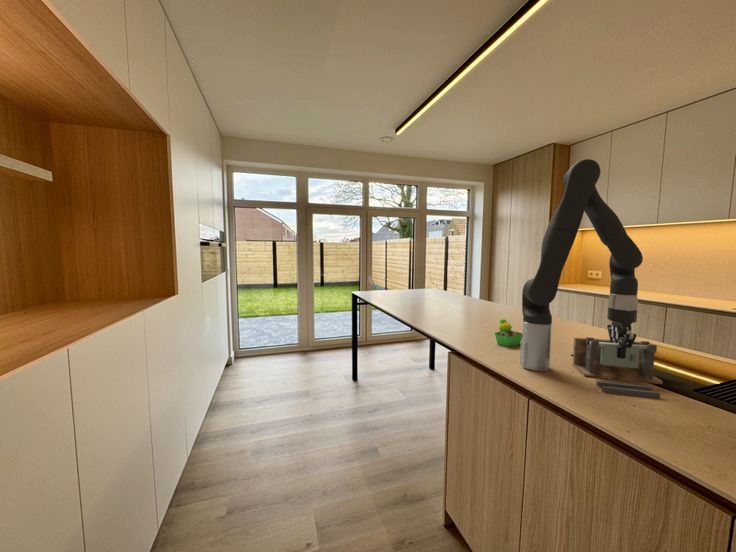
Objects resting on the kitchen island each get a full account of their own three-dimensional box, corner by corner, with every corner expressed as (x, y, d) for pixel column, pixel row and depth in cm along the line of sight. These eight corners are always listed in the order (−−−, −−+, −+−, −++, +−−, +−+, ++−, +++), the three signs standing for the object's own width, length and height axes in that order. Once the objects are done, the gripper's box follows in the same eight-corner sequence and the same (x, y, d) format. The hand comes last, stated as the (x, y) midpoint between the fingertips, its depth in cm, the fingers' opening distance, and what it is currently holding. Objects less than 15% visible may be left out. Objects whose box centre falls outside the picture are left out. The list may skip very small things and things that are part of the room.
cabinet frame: (583, 376, 101) (585, 340, 100) (572, 365, 111) (574, 333, 110) (662, 384, 95) (665, 346, 94) (643, 372, 105) (646, 337, 104)
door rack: (603, 392, 90) (604, 387, 90) (596, 385, 95) (596, 380, 95) (660, 398, 86) (660, 393, 86) (649, 390, 91) (649, 386, 91)
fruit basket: (506, 348, 132) (507, 323, 131) (491, 342, 140) (491, 319, 139) (524, 344, 136) (525, 321, 135) (508, 339, 144) (509, 317, 143)
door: (591, 364, 101) (593, 342, 101) (588, 361, 104) (589, 340, 103) (655, 370, 96) (657, 347, 96) (650, 367, 99) (651, 344, 98)
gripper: (599, 303, 107) (596, 349, 108) (620, 310, 93) (616, 363, 95) (624, 304, 105) (621, 351, 106) (649, 311, 91) (645, 365, 93)
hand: (619, 356), depth 100 cm, fingers closed on door, 2 cm apart
